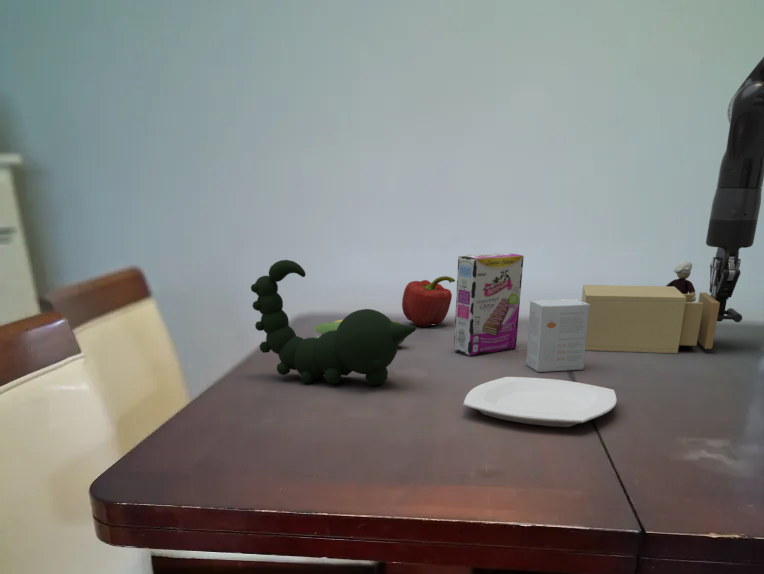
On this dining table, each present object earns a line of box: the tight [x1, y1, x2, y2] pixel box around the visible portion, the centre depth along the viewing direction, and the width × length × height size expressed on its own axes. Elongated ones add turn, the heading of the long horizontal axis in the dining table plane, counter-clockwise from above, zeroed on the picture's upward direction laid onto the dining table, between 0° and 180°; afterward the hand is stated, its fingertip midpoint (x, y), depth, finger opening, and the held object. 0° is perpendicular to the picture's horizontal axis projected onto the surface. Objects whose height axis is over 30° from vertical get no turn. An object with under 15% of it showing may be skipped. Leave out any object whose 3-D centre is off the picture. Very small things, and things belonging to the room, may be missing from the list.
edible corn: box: [313, 319, 408, 346], centre depth 139 cm, size 5×20×5 cm, turn 61°
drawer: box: [679, 292, 743, 350], centre depth 134 cm, size 20×12×8 cm, turn 78°
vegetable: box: [401, 275, 456, 327], centre depth 155 cm, size 11×10×10 cm
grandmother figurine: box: [665, 260, 697, 302], centre depth 153 cm, size 8×4×13 cm, turn 46°
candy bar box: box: [453, 252, 525, 357], centre depth 130 cm, size 11×5×16 cm, turn 123°
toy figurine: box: [250, 259, 417, 387], centre depth 111 cm, size 9×19×25 cm
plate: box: [463, 376, 618, 428], centre depth 99 cm, size 19×19×2 cm
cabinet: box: [581, 284, 686, 354], centre depth 136 cm, size 17×14×10 cm
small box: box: [525, 298, 590, 373], centre depth 120 cm, size 8×6×10 cm
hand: (715, 320), depth 133 cm, fingers closed
